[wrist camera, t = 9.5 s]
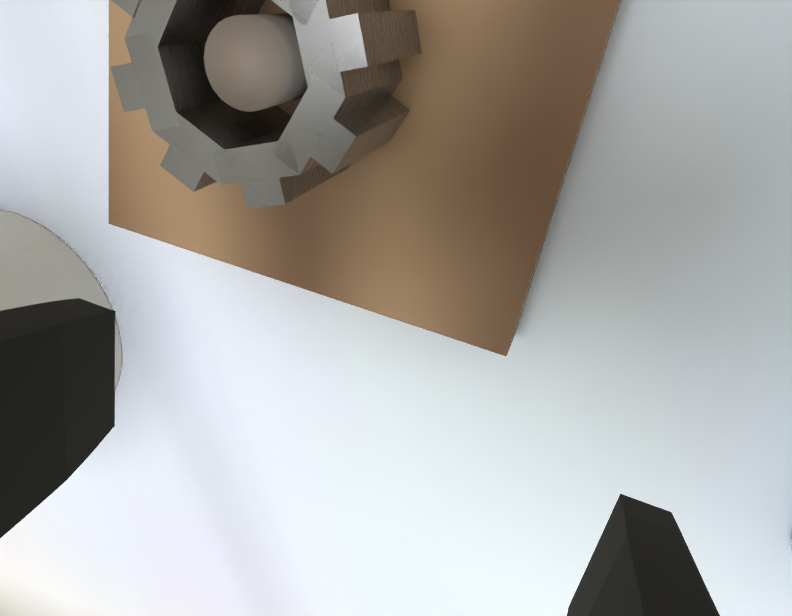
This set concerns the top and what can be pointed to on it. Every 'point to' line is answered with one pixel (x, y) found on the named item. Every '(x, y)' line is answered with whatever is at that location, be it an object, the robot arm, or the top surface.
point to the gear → (272, 127)
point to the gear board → (393, 163)
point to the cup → (44, 271)
